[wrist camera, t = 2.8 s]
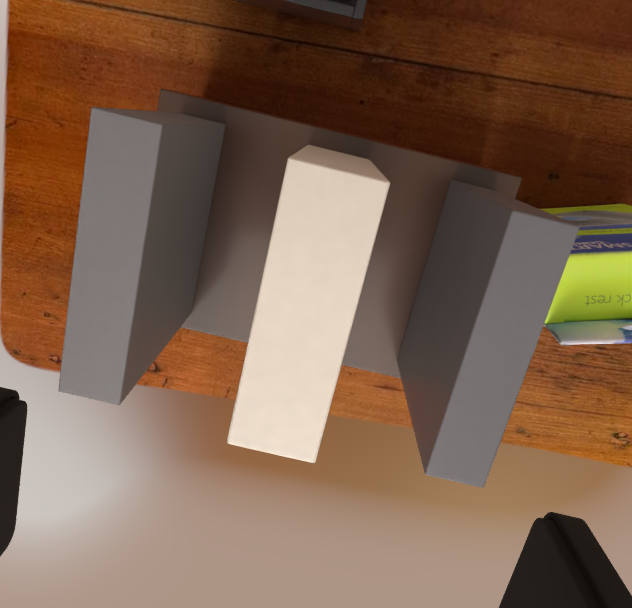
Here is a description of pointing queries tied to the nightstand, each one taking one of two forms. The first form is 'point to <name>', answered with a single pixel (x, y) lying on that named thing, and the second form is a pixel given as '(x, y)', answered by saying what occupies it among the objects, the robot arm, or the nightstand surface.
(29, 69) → the nightstand surface
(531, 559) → the robot arm
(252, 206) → the book shelf
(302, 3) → the book tray
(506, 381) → the grey book
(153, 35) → the nightstand surface
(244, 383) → the white book
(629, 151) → the nightstand surface
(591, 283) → the box
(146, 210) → the grey book
